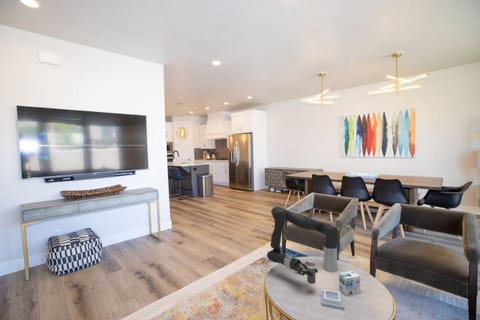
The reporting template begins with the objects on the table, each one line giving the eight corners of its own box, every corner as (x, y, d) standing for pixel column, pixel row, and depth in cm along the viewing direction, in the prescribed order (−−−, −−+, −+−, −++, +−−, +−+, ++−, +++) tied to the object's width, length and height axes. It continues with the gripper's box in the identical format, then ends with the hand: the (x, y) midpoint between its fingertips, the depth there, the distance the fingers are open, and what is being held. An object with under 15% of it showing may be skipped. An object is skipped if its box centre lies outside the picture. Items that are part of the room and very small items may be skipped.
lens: (307, 278, 143) (306, 261, 143) (315, 279, 142) (315, 263, 141) (306, 283, 138) (306, 266, 138) (315, 284, 137) (315, 267, 136)
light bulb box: (345, 295, 136) (345, 278, 135) (338, 288, 142) (338, 272, 142) (360, 292, 138) (360, 276, 137) (353, 286, 145) (353, 270, 144)
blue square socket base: (321, 292, 139) (321, 287, 139) (342, 296, 135) (341, 290, 135) (321, 305, 128) (321, 299, 128) (344, 310, 124) (344, 304, 124)
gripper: (285, 261, 146) (308, 271, 133) (298, 254, 155) (320, 262, 142) (286, 272, 146) (308, 283, 133) (298, 264, 155) (321, 274, 142)
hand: (314, 273), depth 138 cm, fingers closed on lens, 5 cm apart
